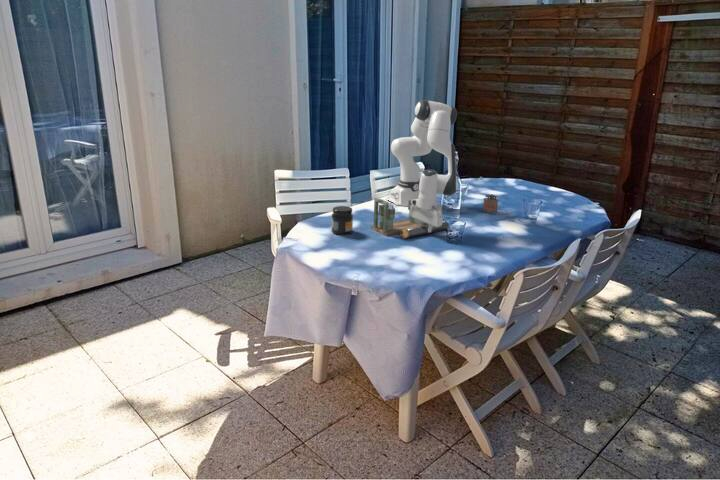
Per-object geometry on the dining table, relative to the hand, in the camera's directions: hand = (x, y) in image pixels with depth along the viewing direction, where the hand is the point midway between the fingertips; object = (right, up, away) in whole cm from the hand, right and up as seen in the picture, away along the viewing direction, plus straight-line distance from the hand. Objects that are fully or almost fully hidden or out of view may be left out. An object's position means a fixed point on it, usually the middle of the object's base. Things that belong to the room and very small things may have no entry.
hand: (425, 230), depth 272 cm
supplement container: (-41, -1, 0) cm, 41 cm away
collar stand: (-12, +1, +8) cm, 14 cm away
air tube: (0, -1, +1) cm, 2 cm away
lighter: (+41, +11, +41) cm, 59 cm away
